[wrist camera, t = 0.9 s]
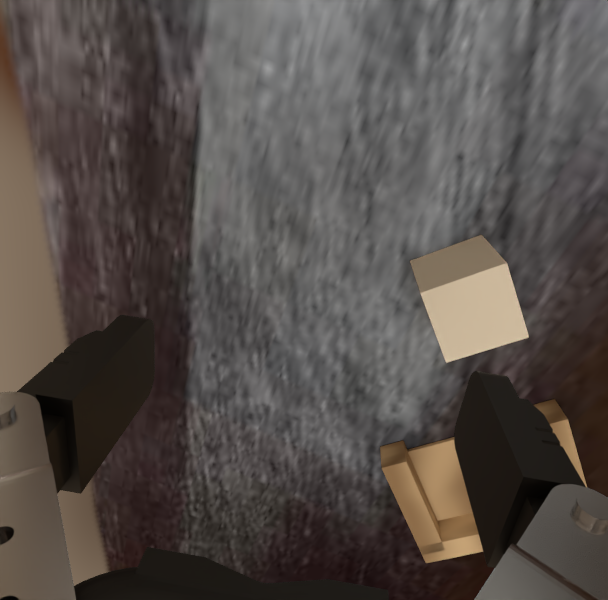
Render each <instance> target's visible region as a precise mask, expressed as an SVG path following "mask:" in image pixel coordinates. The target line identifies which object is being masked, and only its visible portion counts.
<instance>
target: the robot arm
mask: <svg viewBox="0 0 608 600" xmlns="http://www.w3.org/2000/svg"><path fill="white" fill-rule="evenodd" d="M154 372H155V367H154V324H153V321H152V320H151V319H145V318H139V317H132V316H126V315H120V316H119V317H117V318H116V319H115V320H114V321H113V322H112V323H111V324H110V325H109V326H108V327H107V328H106V329H105V330H104V331H97V330H96V331H94V332H92V333H90V334H87V335H85V336H83V337H81V338H78V339H77V340H75V341H74V342H73V343H72V344H71V345H70V346H69V347H67V348H66V349H65V350H64V353H61V354H60V355H58V356H57V357H56V358H55V359H54V361H53V362H50V363H49V364H48V365H47V366H46V367H45V368H44V369H43V370H41V371H40V372H39V373H38V374H37V375H36V376H34V377H33V378H32V379H31V380H30V381H29V382H28V383H26V384H25V385H24V386H23V387H22V388H21V389H20V390H18V391H17V392H2V393H0V600H389V599H388V590H384V589H378V588H373V587H367V586H362V585H356V584H351V583H345V582H339V581H334V580H328V579H326V580H312V581H298V582H283V583H261V582H258V581H256V580H253V579H251V578H249V577H247V576H245V575H243V574H240V573H238V572H236V571H234V570H232V569H229V568H227V567H225V566H223V565H221V564H219V563H216V562H214V561H212V560H210V559H208V558H205V557H200V556H195V555H189V554H183V553H178V552H172V551H167V550H161V549H156V548H150V547H147V549H146V551H145V553H144V555H143V557H142V559H141V561H140V564H139V566H138V567H133V568H126V569H120V570H115V571H111V572H108V573H104V574H101V575H98V576H95V577H93V578H90V579H88V580H85V581H83V582H81V583H79V584H77V585H76V586H74V585H73V580H72V573H71V568H70V562H69V557H68V551H67V546H66V541H65V534H64V529H63V524H62V518H61V512H60V507H59V502H58V496H57V493H58V492H59V491H60V490H64V491H70V492H75V493H82V491H83V490H84V488H85V487H86V485H87V484H88V483H89V481H90V480H91V478H92V477H93V475H94V474H95V473H96V471H97V470H98V468H99V467H100V465H101V464H102V462H103V461H104V459H105V458H106V457H107V455H108V454H109V452H110V451H111V449H112V448H113V446H114V445H115V444H116V442H117V441H118V439H119V438H120V436H121V435H122V433H123V432H124V431H125V429H126V428H127V426H128V425H129V423H130V422H131V420H132V419H133V418H134V416H135V415H136V413H137V412H138V410H139V409H140V407H141V406H142V405H143V403H144V402H145V400H146V399H147V397H148V396H149V394H150V391H151V388H152V385H153V381H154ZM454 443H455V450H456V453H457V457H458V461H459V464H460V468H461V472H462V475H463V479H464V483H465V486H466V490H467V494H468V497H469V501H470V504H471V508H472V512H473V515H474V519H475V523H476V526H477V530H478V534H479V537H480V541H481V545H482V548H483V552H484V556H485V559H486V563H487V566H488V567H494V568H495V569H494V571H493V572H492V574H491V575H490V577H489V578H488V580H487V581H486V583H485V584H484V586H483V587H482V589H481V591H480V592H479V594H478V595H477V597H476V598H475V600H608V498H607V497H605V496H603V495H602V494H600V493H598V492H596V491H594V490H591V489H589V488H586V486H585V484H584V483H583V481H582V479H581V478H580V476H579V474H578V472H577V471H576V469H575V467H574V465H573V464H572V462H571V460H570V459H569V457H568V455H567V453H566V452H565V450H564V448H563V446H560V441H559V440H558V438H557V436H556V434H555V433H553V429H552V427H551V426H550V424H549V422H548V421H547V419H546V417H545V415H544V414H543V413H542V412H541V411H539V410H538V409H537V408H536V407H535V406H534V405H533V404H532V403H531V402H529V401H528V400H526V399H519V397H518V395H517V393H516V391H515V389H514V387H513V385H512V383H511V382H510V380H509V378H508V377H507V376H503V375H497V374H491V373H484V372H478V371H475V372H473V373H472V375H471V377H470V380H469V383H468V386H467V389H466V392H465V396H464V399H463V402H462V405H461V409H460V412H459V415H458V418H457V422H456V426H455V433H454Z"/></svg>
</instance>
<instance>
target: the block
mask: <svg viewBox="0 0 608 600" xmlns="http://www.w3.org/2000/svg"><path fill="white" fill-rule="evenodd" d="M410 263H411V266H412V269H413V272H414V275H415V278H416V281H417V284H418V288H419V291H420V294H421V296H422V299H423V302H424V304H425V307H426V310H427V312H428V315H429V318H430V320H431V323H432V326H433V329H434V331H435V334H436V337H437V339H438V342H439V345H440V347H441V350H442V353H443V355H444V358H445V361H446V363H447V362H450V361H454V360H457V359H460V358H463V357H467V356H470V355H473V354H476V353H480V352H483V351H486V350H489V349H493V348H496V347H499V346H502V345H506V344H509V343H512V342H515V341H519V340H522V339H525V338H528V337H529V335H528V332H527V329H526V325H525V322H524V319H523V315H522V312H521V309H520V305H519V302H518V299H517V295H516V292H515V288H514V285H513V282H512V278H511V275H510V272H509V268H508V265H507V262H506V261H505V260H504V259H503V258H502V257H501V256H500V255H499V254H498V252H497V251H496V250H495V249H494V248H493V247H492V246H491V245H490V244H489V242H488V241H487V240H486V239H485V238H484V237H483V236H482V235H479V236H476V237H474V238H471V239H468V240H465V241H463V242H460V243H457V244H454V245H452V246H449V247H446V248H444V249H441V250H438V251H435V252H433V253H430V254H427V255H424V256H422V257H419V258H416V259H414V260H411V261H410Z"/></svg>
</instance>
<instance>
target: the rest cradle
mask: <svg viewBox="0 0 608 600" xmlns="http://www.w3.org/2000/svg"><path fill="white" fill-rule="evenodd" d="M534 406H535V407H536V408H537V409H538V410H539V411H541V412H542V413H543V414H544V415H545V417H546V419H547V421H548V422H549V424H550V426H551V427H552V429H553V433H555V434H556V436H557V438H558V440H559V441H560V446H563V448H564V450H565V452H566V453H567V455H568V457H569V459H570V460H571V462H572V464H573V465H574V467H575V469H576V471H577V472H578V474H579V476H580V478H581V479H582V481H583V483H584V484H585V486H586V488H587V485H586V481H585V478H584V474H583V471H582V467H581V464H580V460H579V457H578V453H577V450H576V446H575V443H574V439H573V436H572V432H571V429H570V425H569V422H568V419H567V417H566V416H565V414H564V413H563V411H562V410H561V408H560V407H559V405H558V404H557V402H556V400H555V399H553V400H549V401H545V402H542V403H538V404H534ZM380 451H381V465H382V470H383V472H384V474H385V476H386V478H387V481H388V483H389V485H390V487H391V489H392V491H393V493H394V495H395V498H396V500H397V502H398V504H399V506H400V508H401V510H402V513H403V515H404V517H405V519H406V521H407V523H408V525H409V528H410V530H411V532H412V534H413V536H414V538H415V540H416V543H417V545H418V547H419V549H420V551H421V553H422V555H423V558H424V560H425V562H426V563H430V562H434V561H439V560H444V559H449V558H454V557H459V556H463V555H468V554H473V553H478V552H483V548H482V545H481V541H480V537H479V534H478V530H477V526H476V523H475V519H474V515H473V512H472V508H471V504H470V501H469V497H468V494H467V490H466V486H465V483H464V479H463V475H462V472H461V468H460V464H459V461H458V457H457V453H456V450H455V443H454V437H452V438H448V439H445V440H441V441H437V442H434V443H430V444H426V445H422V446H419V447H415V448H411V449H407V448H406V445H405V443H404V441H399V442H395V443H392V444H388V445H384V446H381V447H380Z"/></svg>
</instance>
